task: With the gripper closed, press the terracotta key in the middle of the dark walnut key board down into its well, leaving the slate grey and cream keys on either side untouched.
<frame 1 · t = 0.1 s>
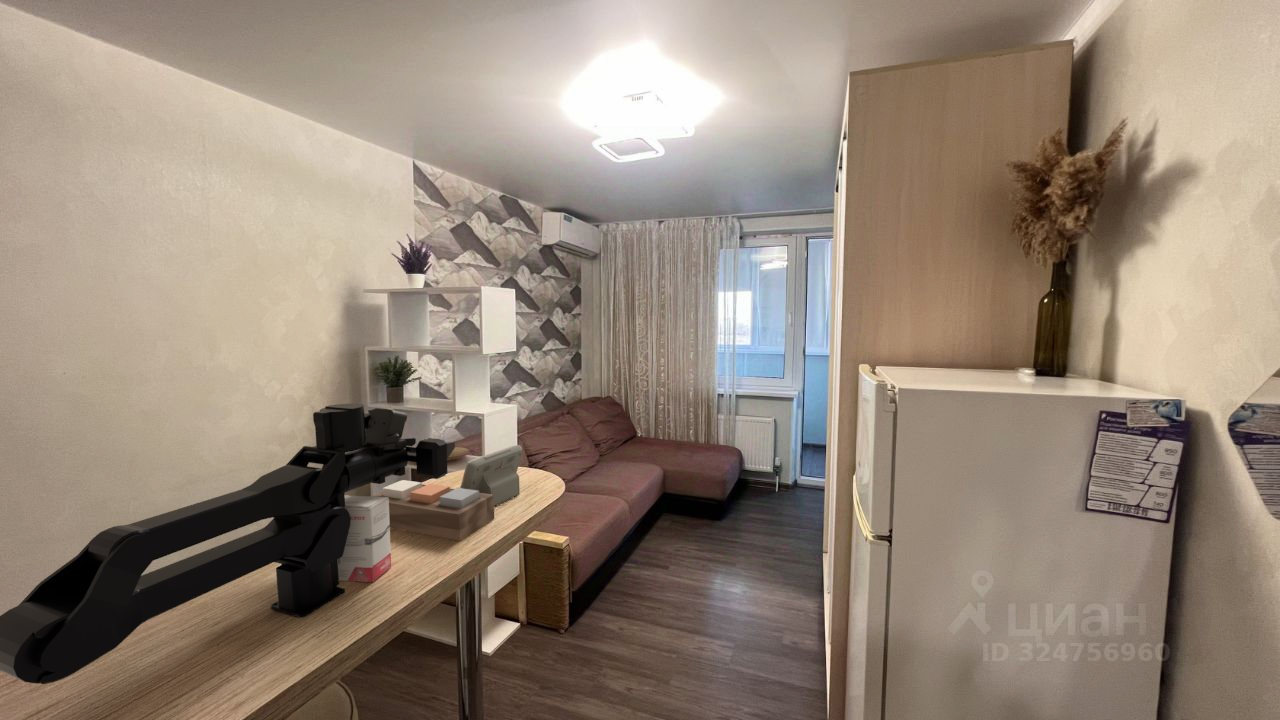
hand: (434, 442, 91), 17 cm above the breakfast bar, tool horizontal, fingers open, 9 cm apart
cream key: (402, 492, 97), point 5 cm above the breakfast bar, slide at 0.0 cm
terracotta key: (430, 496, 94), point 5 cm above the breakfast bar, slide at 0.0 cm
ink box: (358, 574, 76), on the breakfast bar
grey key: (459, 501, 92), point 5 cm above the breakfast bar, slide at 0.0 cm
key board: (431, 521, 95), on the breakfast bar
digital clock: (492, 498, 107), on the breakfast bar
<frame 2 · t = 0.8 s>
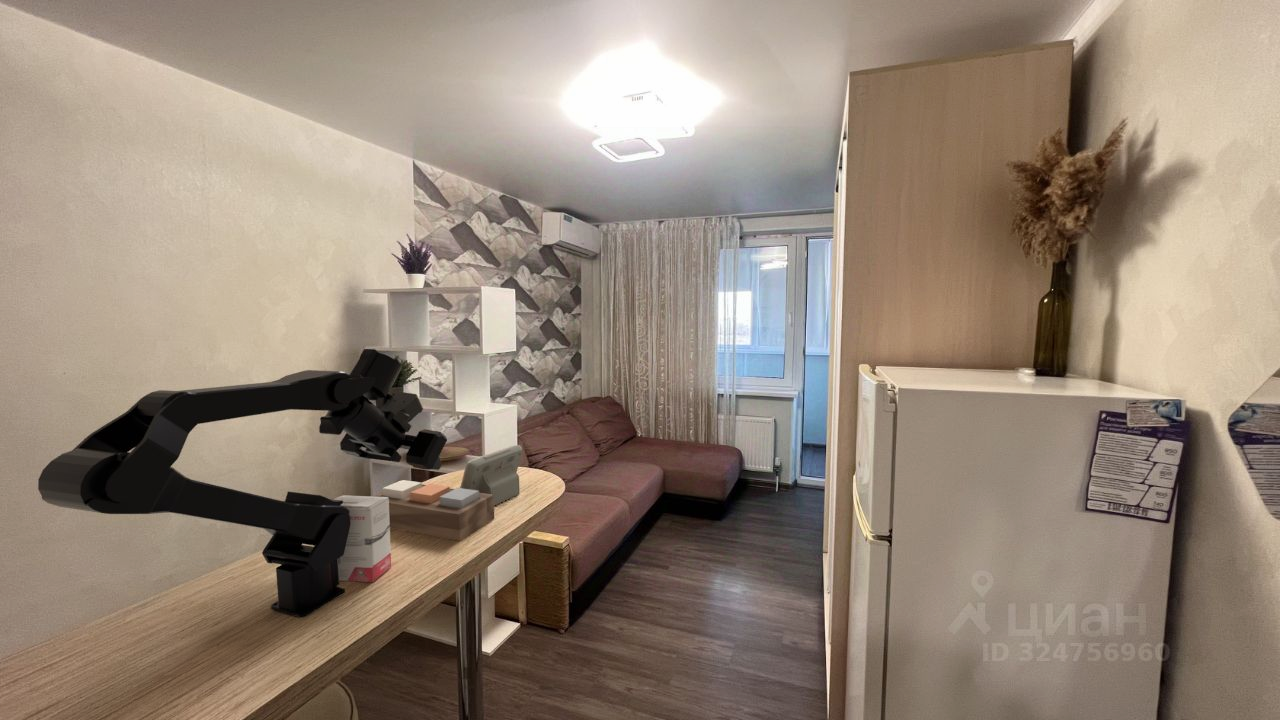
hand: (419, 463, 90), 13 cm above the breakfast bar, tool tilted 50°, fingers open, 9 cm apart
nothing on the breakfast bar moved.
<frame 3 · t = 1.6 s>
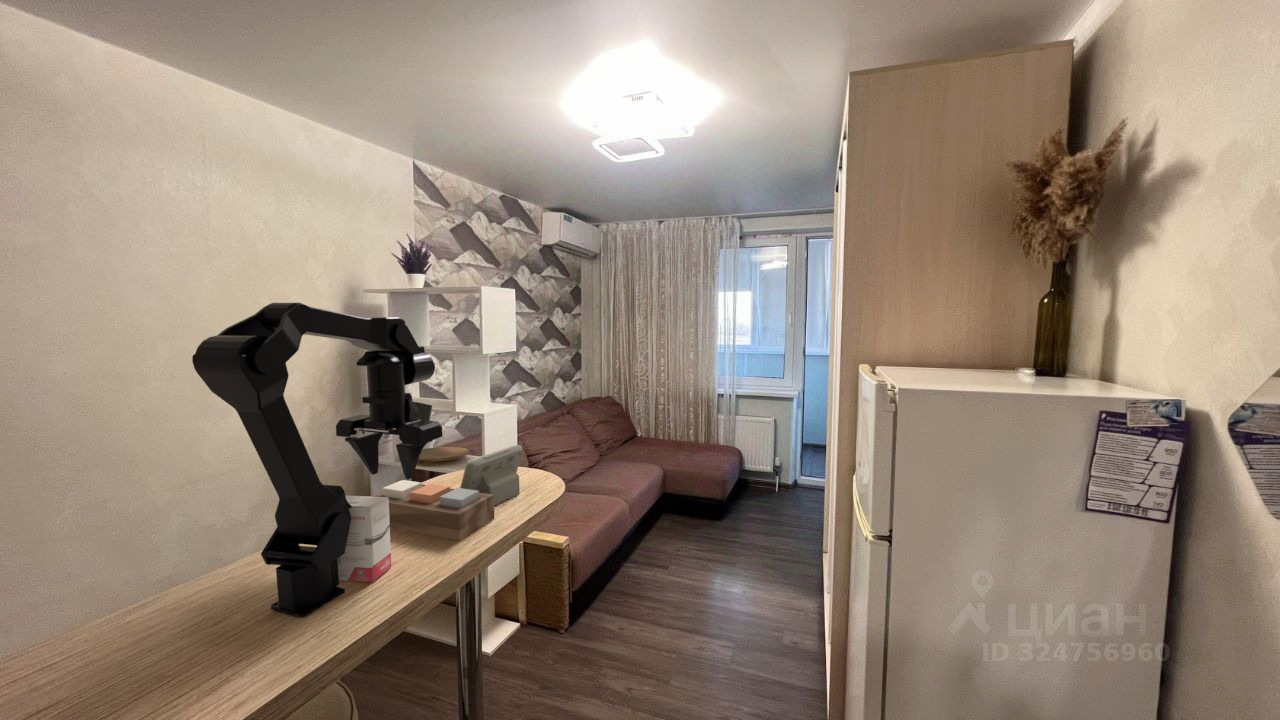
hand: (391, 476, 85), 12 cm above the breakfast bar, tool pointing down, fingers open, 8 cm apart
nothing on the breakfast bar moved.
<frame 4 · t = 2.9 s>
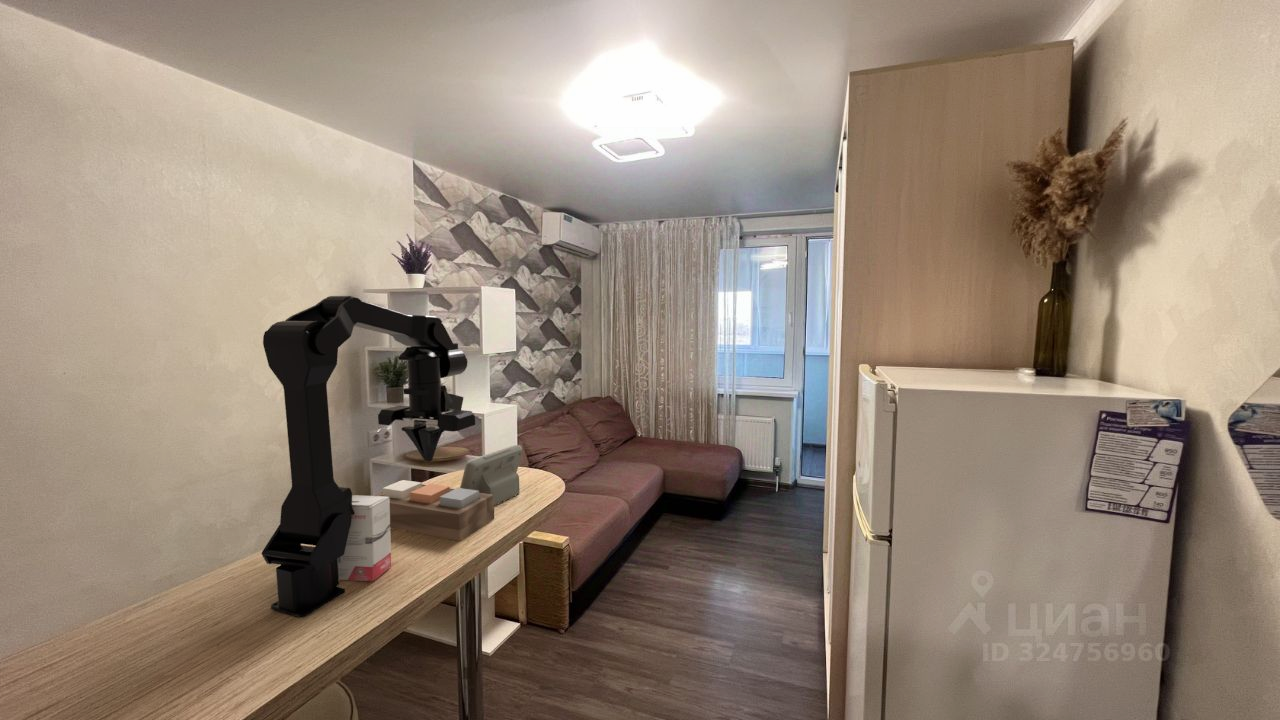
hand: (428, 461, 94), 12 cm above the breakfast bar, tool pointing down, fingers closed
ink box: (358, 573, 76), on the breakfast bar, touching arm
everything else where it was.
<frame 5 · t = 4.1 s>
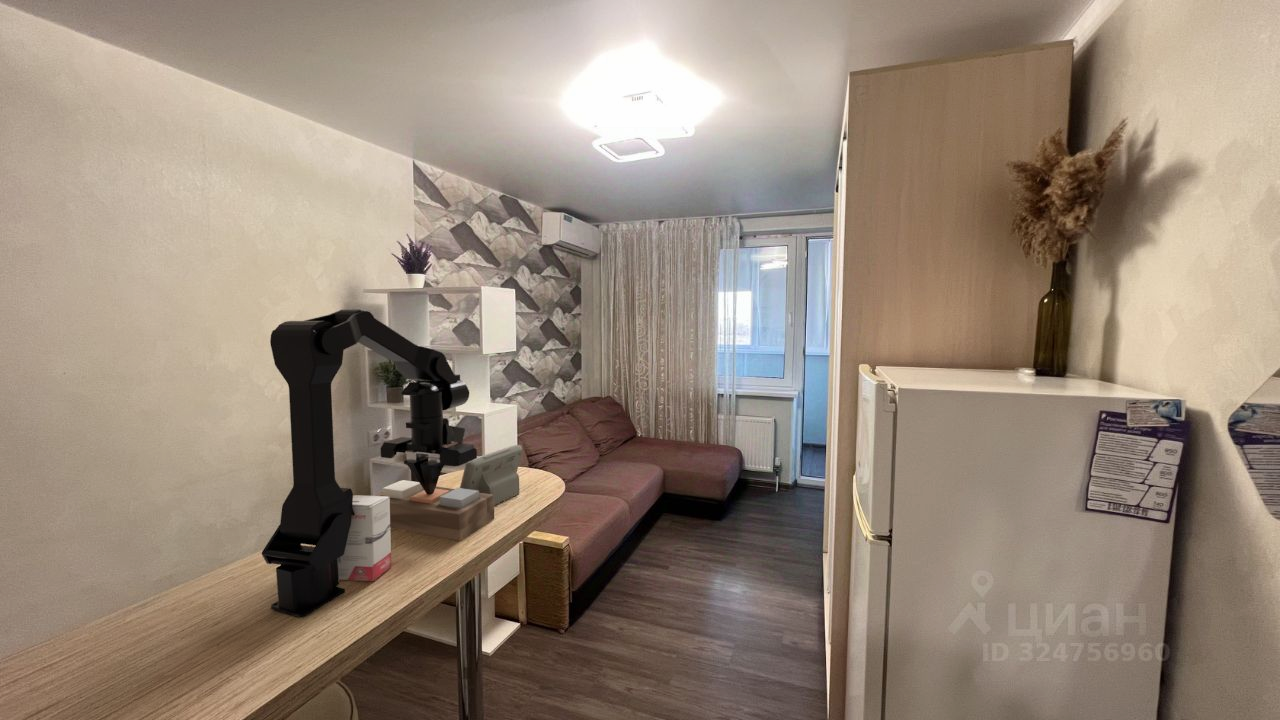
hand: (430, 493, 94), 6 cm above the breakfast bar, tool pointing down, fingers closed, pressing on terracotta key
terracotta key: (430, 500, 94), point 4 cm above the breakfast bar, slide at 0.8 cm, touching gripper
everything else where it was.
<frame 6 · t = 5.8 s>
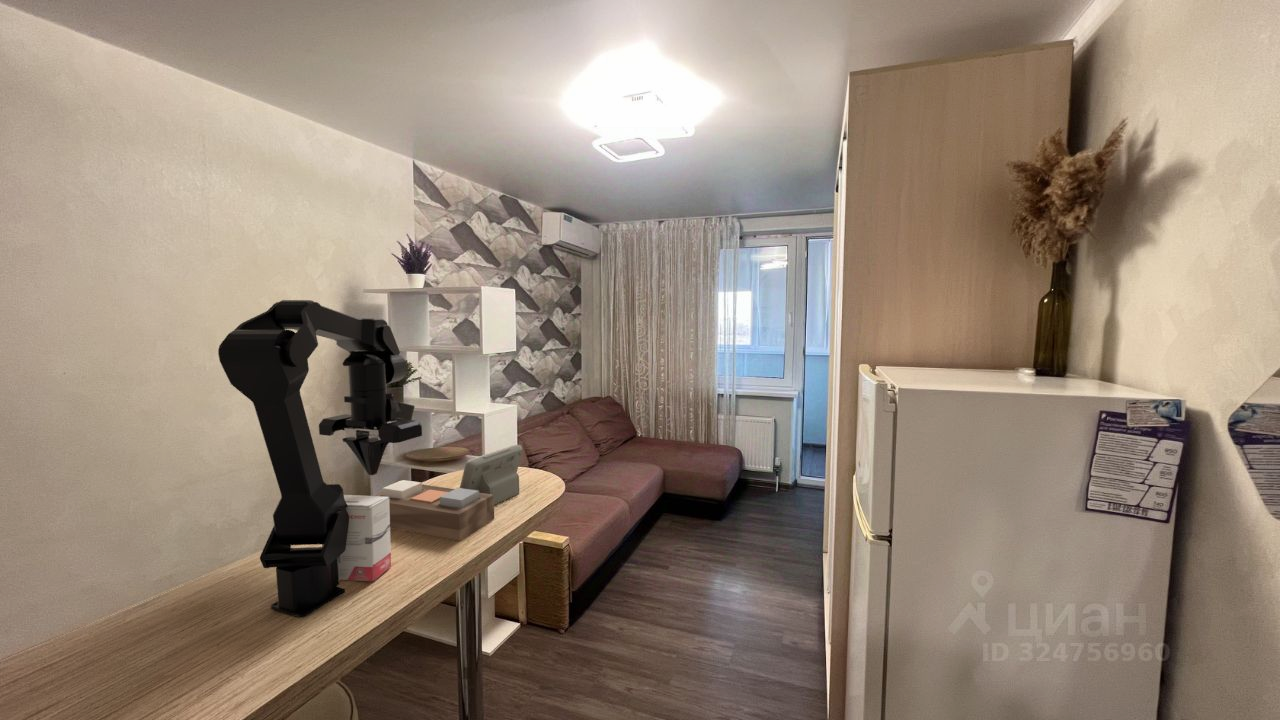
hand: (372, 474, 87), 12 cm above the breakfast bar, tool pointing down, fingers closed
terracotta key: (430, 502, 95), point 4 cm above the breakfast bar, slide at 1.2 cm
everything else where it was.
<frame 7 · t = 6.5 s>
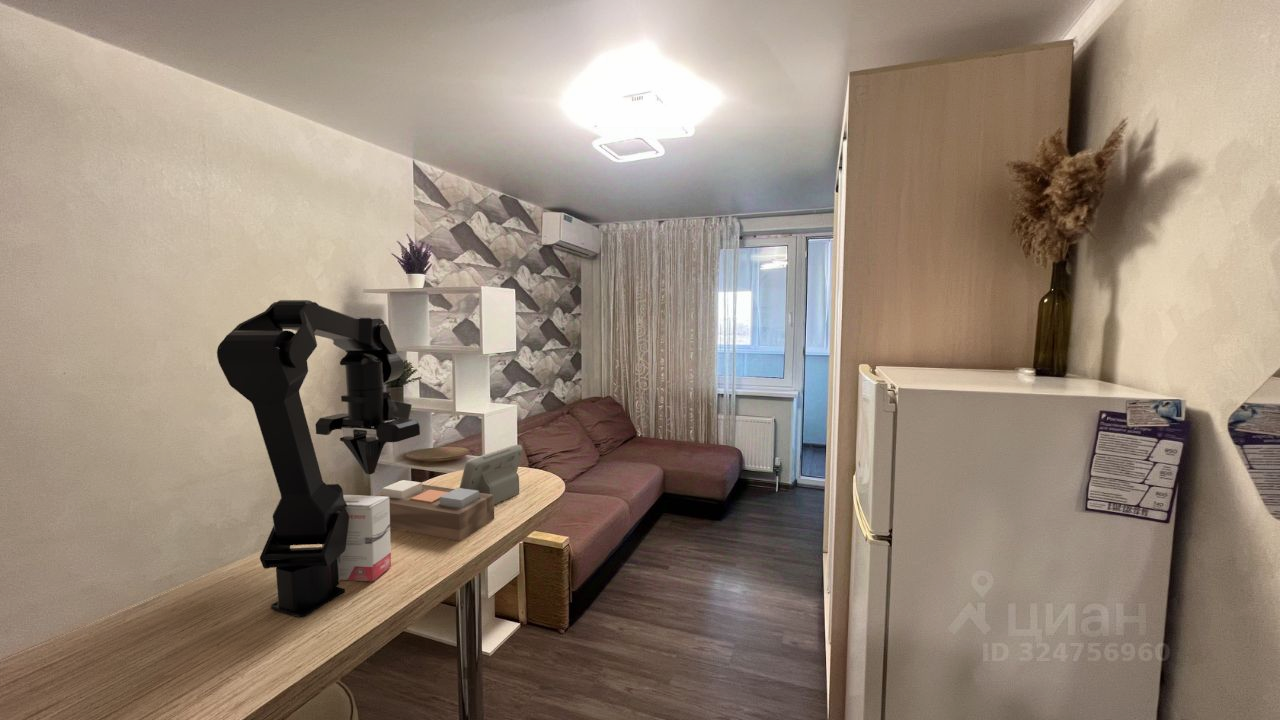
hand: (370, 473, 87), 12 cm above the breakfast bar, tool pointing down, fingers closed
nothing on the breakfast bar moved.
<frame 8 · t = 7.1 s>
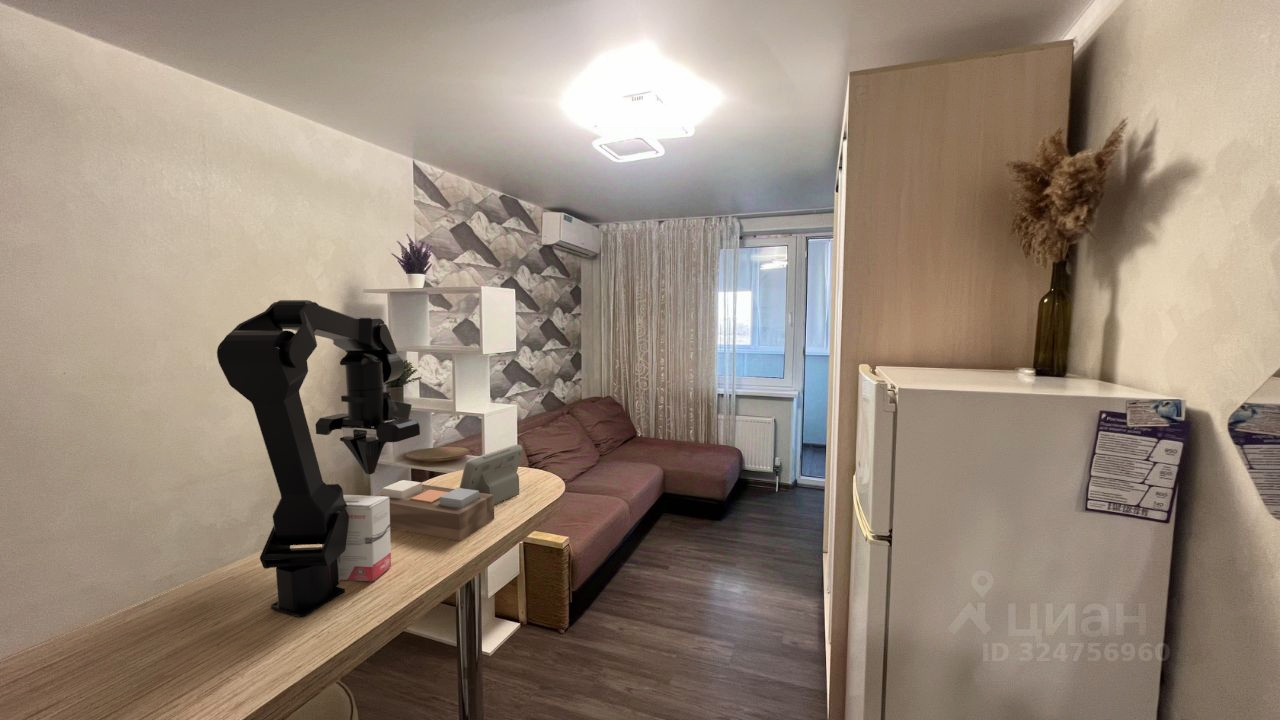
hand: (370, 473, 87), 12 cm above the breakfast bar, tool pointing down, fingers closed
nothing on the breakfast bar moved.
at the end: terracotta key slide at 1.2 cm; grey key slide at 0.0 cm; cream key slide at 0.0 cm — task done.
